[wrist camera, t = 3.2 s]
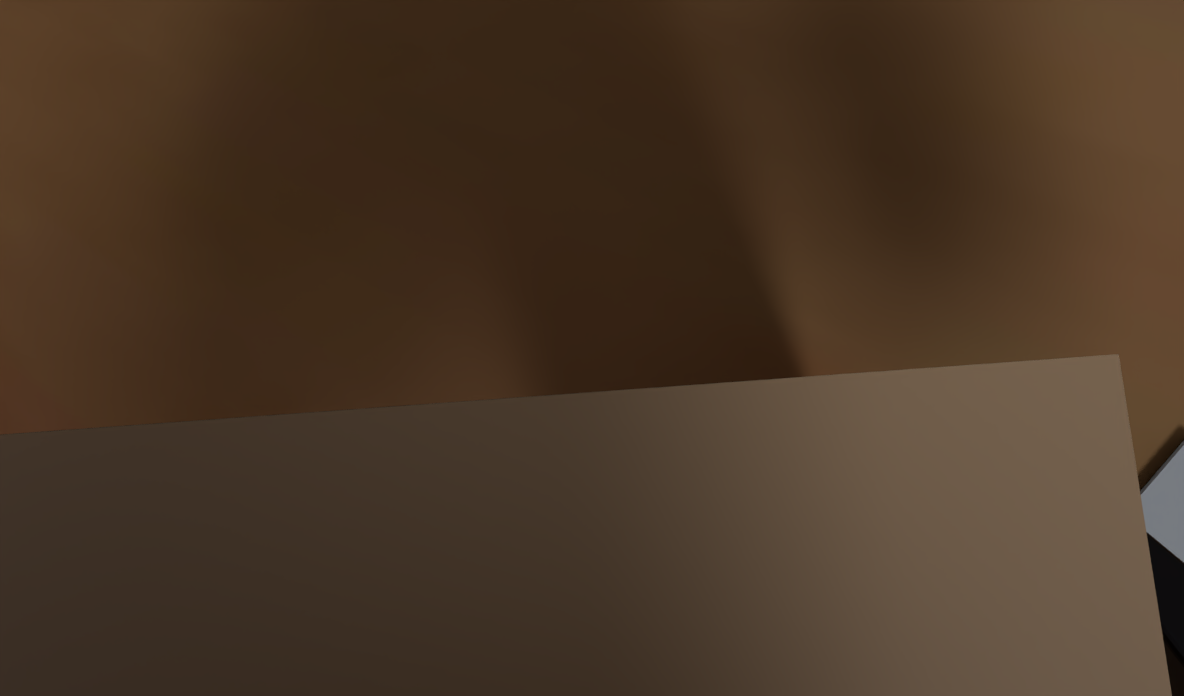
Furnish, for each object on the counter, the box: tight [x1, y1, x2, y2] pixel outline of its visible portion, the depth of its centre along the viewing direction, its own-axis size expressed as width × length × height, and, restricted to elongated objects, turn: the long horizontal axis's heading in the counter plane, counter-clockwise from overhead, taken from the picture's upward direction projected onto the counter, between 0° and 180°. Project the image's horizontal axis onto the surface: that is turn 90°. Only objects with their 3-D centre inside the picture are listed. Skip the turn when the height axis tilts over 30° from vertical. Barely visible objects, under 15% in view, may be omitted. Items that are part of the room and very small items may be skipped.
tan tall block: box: [0, 354, 1172, 696], centre depth 9 cm, size 5×5×14 cm
